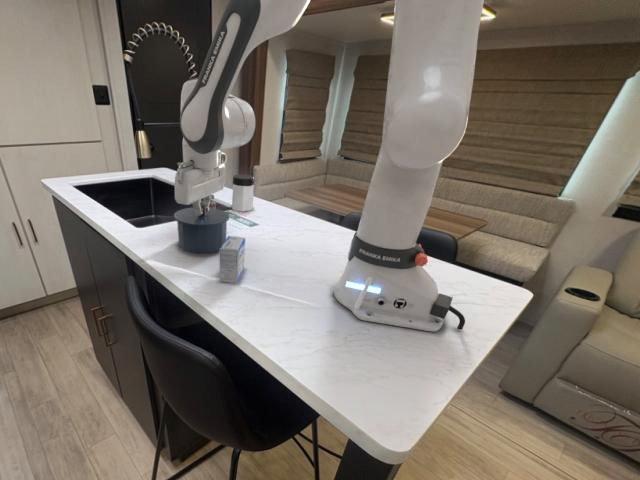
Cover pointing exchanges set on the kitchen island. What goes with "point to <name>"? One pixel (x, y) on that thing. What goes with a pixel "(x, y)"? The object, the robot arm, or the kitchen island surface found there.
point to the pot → (201, 238)
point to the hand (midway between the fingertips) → (202, 213)
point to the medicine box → (232, 259)
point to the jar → (242, 192)
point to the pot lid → (201, 217)
